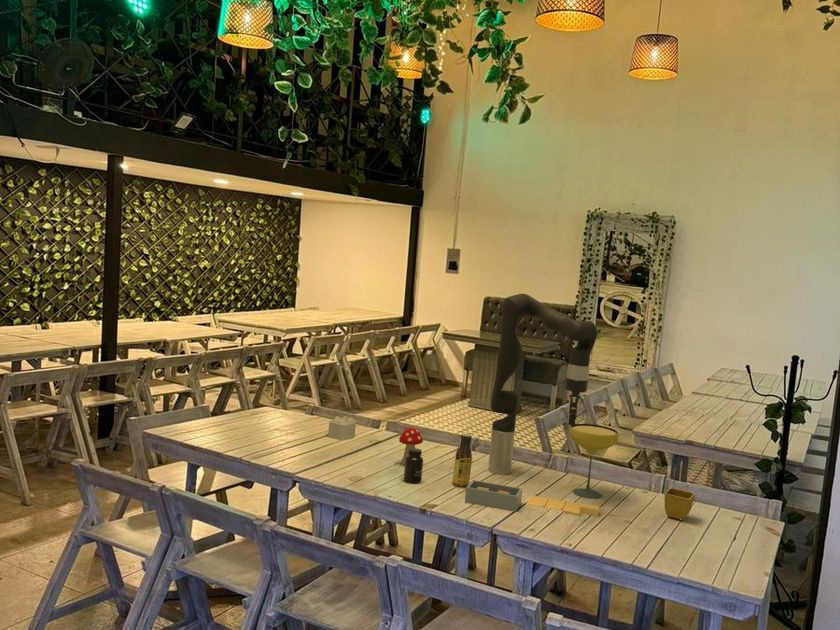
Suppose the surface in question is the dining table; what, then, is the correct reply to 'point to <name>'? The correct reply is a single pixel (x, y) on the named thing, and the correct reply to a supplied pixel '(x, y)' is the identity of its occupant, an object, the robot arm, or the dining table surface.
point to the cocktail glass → (592, 447)
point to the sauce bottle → (463, 462)
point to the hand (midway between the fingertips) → (572, 422)
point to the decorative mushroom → (410, 440)
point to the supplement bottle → (413, 466)
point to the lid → (563, 506)
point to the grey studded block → (342, 428)
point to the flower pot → (678, 503)
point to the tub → (493, 495)
